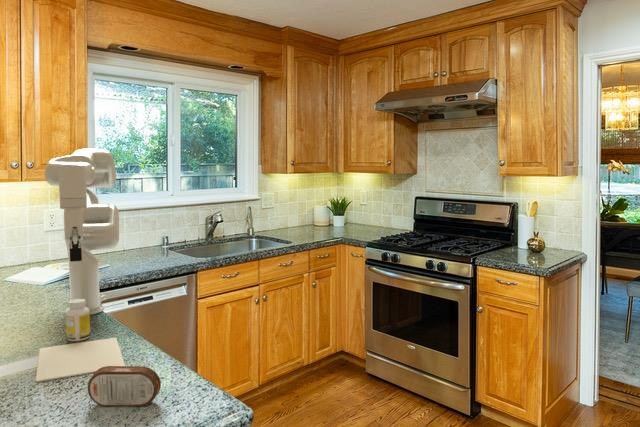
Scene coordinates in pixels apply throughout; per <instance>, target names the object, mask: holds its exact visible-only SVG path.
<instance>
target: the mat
mask: <svg viewBox="0 0 640 427" xmlns="http://www.w3.org/2000/svg"><path fill="white" fill-rule="evenodd" d="M37 360H38V361H37V368H36V377H35V383H41V382H42V383H43V382H47V381H52V380H53V381H54V380H58V379H66V378H71V376H72V377H76V376H77V375H78V376H83V375H89V374H94V372H96V371H97V370H98V369H100V368H102V367H105V366H126V364H125V360H124V357H123V355H122V351H121V348H120V345H119V343H118V340H117V337H110V338H104V339H97V340H88V341H83V342H81V341H80V342H75V343H69V344H63V345H62V344H61V345H54V346H47V347H41V348H40V347H39V352H38V359H37Z"/></svg>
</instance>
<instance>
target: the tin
mask: <svg viewBox="0 0 640 427" xmlns="http://www.w3.org/2000/svg"><path fill="white" fill-rule="evenodd" d="M92 374H93V375H92V376H91V377H90V379H89V381H88V383H87V392H88V396H89V398H90V399H91V401H92V402H93V403H95V404H97V405H99V406H101V407H106V406H141V407H145V406H148V405H149V404H151V403H152V402H153V401H154V400H155V398H156V397H157V396H158V394H159V392H160V390H161V384H162V383H161V379H160V376H159V375H158V374H157V372H156V371H155V370H154V369H152V368H150V367H147V366H144V365H138V366H137V365H133V366H131V365H129V366H128V365H125V366H105V367H102V368H100V369H98V370H97V371H96V372H95V373H92Z"/></svg>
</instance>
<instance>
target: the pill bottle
mask: <svg viewBox="0 0 640 427" xmlns="http://www.w3.org/2000/svg"><path fill="white" fill-rule="evenodd" d="M67 303H68V304H67V306H68V308H69V309H68V310H67V311H66V310H65V315H64V316H65V333H66V334H65V335H66V340H67V341H70V342H81V341H84V340H87V339H89V338H90V337H91V320H90V319H91V318H90V317H91V315H90V314H89V309H88V308H87V307H85V305H86V300H85V299H74V300H70V299H69V300H68V301H67Z"/></svg>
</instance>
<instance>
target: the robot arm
mask: <svg viewBox="0 0 640 427" xmlns="http://www.w3.org/2000/svg"><path fill="white" fill-rule="evenodd" d="M114 159H115V158H114V156H113V154H112V153H111V152H110V151H109V150H107V149H102V148H101V149H100V148H99V149H97V148H82V149H81V148H80V149H77V150H74V152H72V154H71V155H69V154H68V155H65V156H61V157H56V158H55V157H54V158H52V159H49V161H48V162H47V164H46V166H45V169H44V178H45V181H46V182H47V184H49V185H51V186H55V187H56V186H58V192H59V193H58V194H59V208H60V209H61V210H63V228H64V229H63V230H64V242H65V246H66V250H67V256H68V257H67V258H68V260H67V261H68V274H69V275H68V277H69V279H68V280H69V301H70V300H74V299H85V300H86V305H85V307H87V308H88V309H89V314H90V316H92V315H96V314H99V313H101V312H103V311H105V308H106V307H105V305H104V304H102V302H104V301H105V300H107V299H108V296H107V295H106V294H100V269H99V261H98V258H97V257H96V256H95V255H94V254H93V253H92V252H91V251H96V250H97V251H101V250H112V249H116V248H117V247H118V245H119V241H120V213H119V210H118V207H117V205H115V204H113V203H99V198H98V196H97V195H95V193H94V192H92V190H90V189H89V188H91V189H94V188H101V189H102V188H105V189H106V188H112V187H113V186H115V184H116V181H117V174H116V166H115V164H116V163H115V160H114ZM68 309H69V307H68V308H66V309H65V312H66V311H67V310H68Z"/></svg>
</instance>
